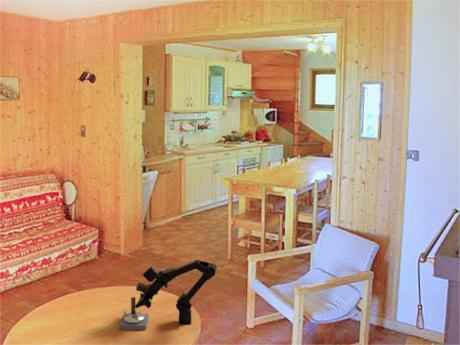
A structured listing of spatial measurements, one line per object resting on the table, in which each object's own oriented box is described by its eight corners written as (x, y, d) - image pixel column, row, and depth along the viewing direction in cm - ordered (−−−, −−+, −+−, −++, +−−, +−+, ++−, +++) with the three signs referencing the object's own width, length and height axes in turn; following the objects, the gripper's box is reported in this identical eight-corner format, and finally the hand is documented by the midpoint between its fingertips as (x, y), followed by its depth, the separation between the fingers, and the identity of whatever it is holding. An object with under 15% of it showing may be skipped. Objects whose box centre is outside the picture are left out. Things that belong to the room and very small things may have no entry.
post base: (148, 317, 283) (148, 307, 282) (145, 329, 269) (145, 318, 268) (123, 317, 282) (123, 307, 281) (119, 329, 268) (119, 318, 267)
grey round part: (142, 311, 284) (142, 294, 282) (146, 322, 272) (145, 304, 270) (122, 314, 280) (122, 296, 279) (125, 324, 268) (125, 306, 266)
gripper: (144, 272, 285) (125, 291, 286) (144, 285, 267) (123, 305, 267) (159, 284, 288) (140, 303, 288) (159, 298, 270) (139, 318, 270)
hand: (135, 307), depth 278 cm, fingers closed, pressing on grey round part
